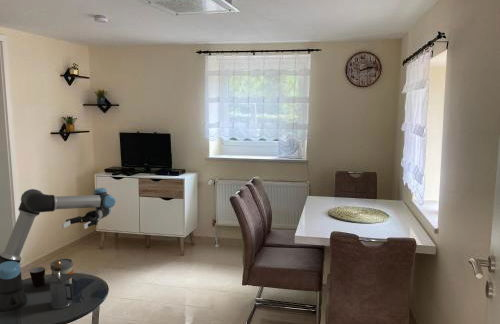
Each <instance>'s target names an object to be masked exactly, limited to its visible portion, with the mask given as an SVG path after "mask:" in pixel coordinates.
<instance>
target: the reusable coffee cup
mask: <svg viewBox="0 0 500 324" xmlns="http://www.w3.org/2000/svg"><path fill="white" fill-rule="evenodd" d="M58 260H61V266H62V270H60V273H63V274H73V276H74V268H73V266H74V264H73V263H74V262H73V260H72V258H61V259H58ZM50 270H51V276H53V275H54V274H56V273H57V271H55V269H54V261H52V262H50ZM73 276H72V277H71V278H70V279H69V282H70V284H73V283H72V281H73V280H72V279H73Z"/></svg>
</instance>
